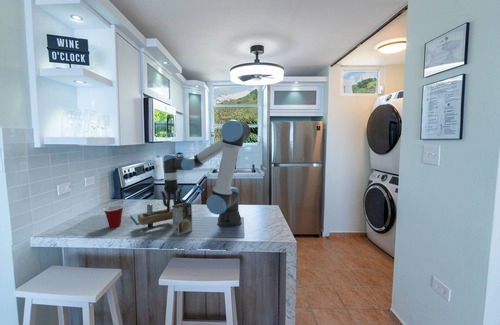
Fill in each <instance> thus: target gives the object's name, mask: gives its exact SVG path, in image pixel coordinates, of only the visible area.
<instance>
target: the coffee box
mask: <svg viewBox="0 0 500 325" xmlns="http://www.w3.org/2000/svg"><path fill="white" fill-rule="evenodd" d="M171 209H172V213H173V219H172V233H173V234H175V235H177V236H181V235H184V234H187V233H190V232H192V231H193V212H192V203H189V202H185V201H184V202H180V204H176V205H174V204H173V205H171Z"/></svg>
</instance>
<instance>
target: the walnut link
mask: <svg viewBox="0 0 500 325" xmlns="http://www.w3.org/2000/svg"><path fill="white" fill-rule="evenodd" d="M163 209H164V210H163ZM163 209H158V210H159V211H157V210H153V215H152V216H147V213H145V212H141V213H142V214H139V213H137V214H138V221H139V222H140V223H141V224H140V225H142V226H146V225H148V224H151V223H153V224H156V223H159V222H164V221H169V220H173V213H172V208H171V212H168V211H167V208H163Z"/></svg>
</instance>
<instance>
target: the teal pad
mask: <svg viewBox="0 0 500 325" xmlns="http://www.w3.org/2000/svg"><path fill="white" fill-rule="evenodd" d="M164 209H165V208H163V209H162V210H164ZM159 210H160V209H158V210H156V211H159ZM142 213H143V212H139V213H134V214H130V217H131V218H132V219H133V221H134V222H135V223H136V225H141V223H140V222H139V221H138V214H142ZM144 213H147V211H146V212H144Z"/></svg>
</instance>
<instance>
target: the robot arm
mask: <svg viewBox="0 0 500 325" xmlns="http://www.w3.org/2000/svg"><path fill="white" fill-rule="evenodd" d="M220 134H221V138H220V139H218V140H217V141H215V142H213V143H212V144H211V145H209V146H207V147H206V148H204V149H203V150H202V151H199V152H198V153H196V154H195V155H194V156H190V157H189V156H188V157H177V155H176V154H164V155H163V162H162V163H163V175H164V176H163V177H164V187H163V189H162V190H160V192H159V193H160V194H161V198H162V204H163V206H164V207H166V209H167V211H168V212H171V209H172V205H171V195H172V202H173V205H176V204H180V203H181V194H182V190H183V189H182V188H179V187H178V171H187V172H188V171H193V170H194V169H199V168H201V167H203V166H204V164H205V163H207V162H209V161H211V160H212V159H213V158H216V157H217V156H218V155H220V154H221V153H222V154H221V158H220V163H219V169H218V173H217V178H216V182H215V186H214V187H212V190H211V193H210V195H209V196H208V198H207V200H206V207H207V209H208V212H210V213H211V214H213V215H218V218H217V224H218V225H219V226H223V227H236V226H239V225H241V224H242V217H241V215H240V211H239V208H240V207H239V203H240V202H239V200H240V198H239V196H240V192H239V188H238V187H235V186H232V184H233V178H234V173H235V170H236V169H235V168H236V165H237V160H238V155H239V150H240V149H241V148H243V144H244V141H247V140H248V139H249V137H250V136H251V128H250V126H249V124H248V123H247V122H244V121H242V120H238V119H230V120H227V121H225V122H224V123H223V124H222V126H221V128H220ZM165 193H166V194H165ZM176 194H177V195H176Z"/></svg>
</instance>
